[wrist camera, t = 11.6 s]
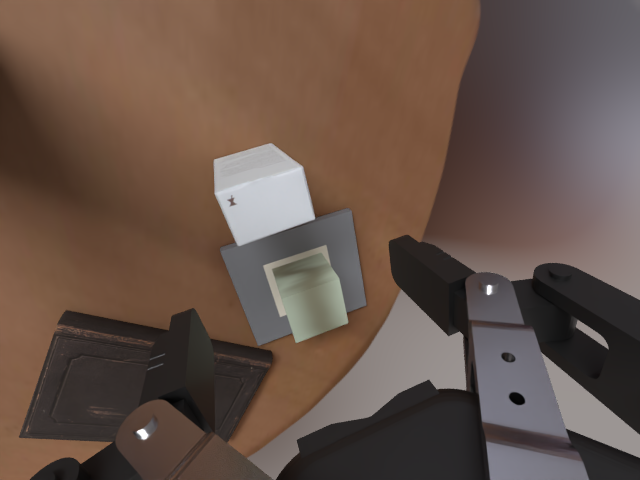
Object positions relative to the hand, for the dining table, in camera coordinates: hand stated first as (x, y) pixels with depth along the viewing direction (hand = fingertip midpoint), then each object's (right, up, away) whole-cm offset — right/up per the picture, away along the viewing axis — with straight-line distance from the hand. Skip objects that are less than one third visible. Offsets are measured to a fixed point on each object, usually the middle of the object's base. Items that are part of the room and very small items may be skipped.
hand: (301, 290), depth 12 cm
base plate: (-2, -3, +26) cm, 26 cm away
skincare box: (-6, +9, +19) cm, 22 cm away
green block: (-1, -3, +25) cm, 25 cm away
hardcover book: (-19, -15, +26) cm, 36 cm away
